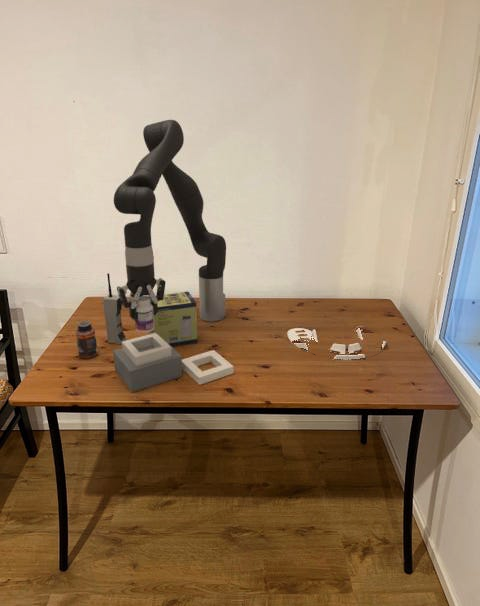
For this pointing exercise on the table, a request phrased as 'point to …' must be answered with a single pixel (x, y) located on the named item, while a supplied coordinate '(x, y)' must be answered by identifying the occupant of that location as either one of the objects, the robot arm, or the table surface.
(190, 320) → the protein box
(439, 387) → the table surface
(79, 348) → the supplement bottle
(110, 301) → the vintage mobile phone
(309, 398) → the table surface
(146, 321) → the pill bottle
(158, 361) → the grey white square block
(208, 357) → the collar
